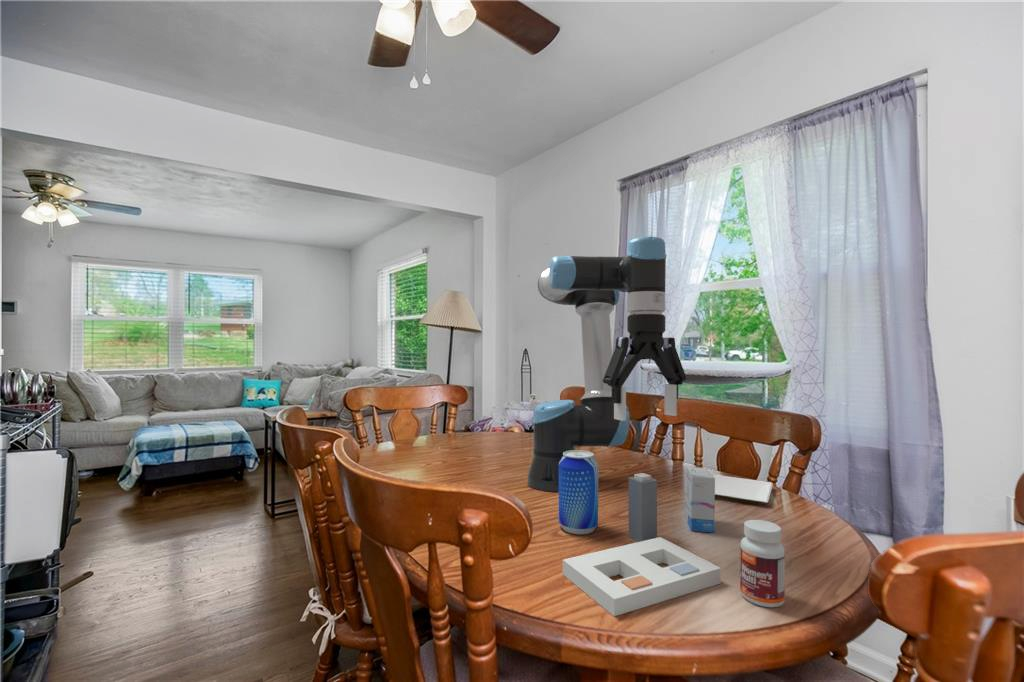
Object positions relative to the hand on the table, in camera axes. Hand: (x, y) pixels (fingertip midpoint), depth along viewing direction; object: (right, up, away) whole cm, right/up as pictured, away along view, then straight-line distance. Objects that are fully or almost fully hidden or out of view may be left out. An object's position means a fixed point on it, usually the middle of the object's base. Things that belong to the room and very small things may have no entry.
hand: (645, 417), depth 97 cm
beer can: (-13, -25, +5) cm, 28 cm away
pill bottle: (+12, -25, -23) cm, 36 cm away
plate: (+31, -25, +30) cm, 50 cm away
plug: (-1, -25, 0) cm, 25 cm away
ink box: (+14, -25, +7) cm, 29 cm away
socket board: (-6, -24, -17) cm, 30 cm away
